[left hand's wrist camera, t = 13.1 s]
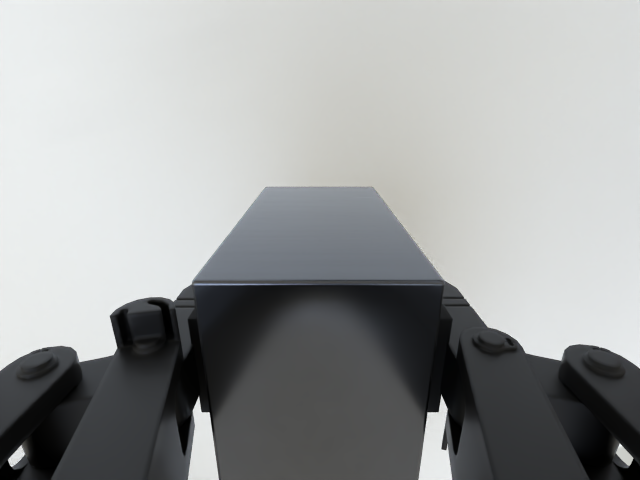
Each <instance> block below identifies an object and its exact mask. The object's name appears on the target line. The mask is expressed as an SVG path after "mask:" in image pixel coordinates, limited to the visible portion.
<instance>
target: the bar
mask: <svg viewBox="0 0 640 480" xmlns="http://www.w3.org/2000/svg"><path fill="white" fill-rule="evenodd" d="M444 286H445V282H444V280H443V279H442V277H441V276H440V275H439V273H438V272H437V271H436V269H435V268H434V267H433V265H432V264H431V263H430V261H429V260H428V259H427V257H426V256H425V255H424V254H423V252H422V251H421V250H420V248H419V247H418V246H417V244H416V243H415V242H414V240H413V239H412V238H411V236H410V235H409V234H408V232H407V231H406V230H405V229H404V227H403V226H402V225H401V223H400V222H399V221H398V219H397V218H396V217H395V215H394V214H393V213H392V211H391V210H390V209H389V207H388V206H387V205H386V204H385V202H384V201H383V200H382V198H381V197H380V196H379V194H378V193H377V192H376V190H375V189H374V188H373V187H265V188H264V190H263V191H262V192H261V194H260V195H259V196H258V197H257V199H256V200H255V201H254V203H253V204H252V205H251V206H250V208H249V209H248V210H247V212H246V213H245V214H244V215H243V217H242V218H241V219H240V221H239V222H238V223H237V224H236V226H235V227H234V228H233V230H232V231H231V232H230V233H229V235H228V236H227V237H226V239H225V240H224V241H223V242H222V244H221V245H220V246H219V247H218V249H217V250H216V251H215V253H214V254H213V255H212V256H211V258H210V259H209V260H208V262H207V263H206V264H205V265H204V267H203V268H202V269H201V271H200V272H199V273H198V274H197V276H196V277H195V278H194V280H193V282H192V288H193V295H194V302H195V310H196V317H197V324H198V331H199V338H200V345H201V353H202V360H203V367H204V374H205V381H206V389H207V396H208V403H209V410H210V417H211V425H212V432H213V439H214V446H215V453H216V461H217V468H218V475H219V480H418V478H419V471H420V463H421V456H422V449H423V441H424V434H425V427H426V419H427V412H428V404H429V397H430V390H431V382H432V375H433V368H434V360H435V353H436V345H437V338H438V331H439V323H440V316H441V309H442V301H443V294H444Z"/></svg>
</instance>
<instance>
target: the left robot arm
mask: <svg viewBox="0 0 640 480" xmlns="http://www.w3.org/2000/svg"><path fill="white" fill-rule="evenodd" d="M444 282H445V286H444V294H443V301H442V309H441V316H440V323H439V331H438V338H437V345H436V353H435V360H434V368H433V375H432V382H431V390H430V397H429V404H428V412H439V406H440V399H441V394H442V397H443V399H444V401H445V404H446V406H447V408H448V411H447V417H446V423H445V429H444V435H443V441H442V449H443V450H446V449H447V443H448V450H449V457H450V465H451V472H452V480H640V369H639V368H638V367H637V366H636V365H634V364H633V363H631V362H630V361H628V360H627V359H625V358H623V357H622V356H620V355H618V354H615V353H613V352H611V351H609V350H607V349H604V348H599V347H597V346H590V345H580V344H579V345H572V346H569V347H568V348H567V349H565V350H564V354H563V357H562V361H559V360H554V359H549V358H544V357H539V356H534V355H530V354H526V353H525V351H524V350H523V348H522V346H521V345H520V344H519V343H518V341H517V340H515V339H514V338H512V337H511V336H509V335H508V334H506V333H503V332H501V331H498V330H496V329H491V328H488V327H487V326H486V325H485V323H484V322H483V321H482V320H481V318H480V317H479V316H478V315H477V313H476V312H475V311H474V309H473V308H472V307H471V306H470V304H469V303H468V302H467V301H466V299H464V297H463V296H462V294H461V293H460V292H459V290H458V289H457V288H455V287H454V286H452V285H451V284H449V283H447V282H446V281H444ZM110 319H111V323H112V327H113V331H114V335H115V339H116V343H117V350H116V352H115V354H114V355H113V356H109V357H104V358H99V359H94V360H89V361H84V362H79V360H78V356H77V353H76V351H75V350H74V349H72V348H71V347H65V346H57V347H47V348H42V349H41V350H40V349H39V350H36V351H33V352H31V353H29V354H27V355H25V356H23V357H20V358H19V359H17V360H15V361H14V362H12V363H11V364H9V365H8V366H6V367H5V368H4V369H2V370H1V371H0V480H188V473H189V466H190V458H191V450H192V443H193V435H194V428H195V424H194V417H193V408H194V406H195V404H196V401H197V399H198V397H199V398H200V404H201V411H202V412H210V410H209V403H208V396H207V389H206V381H205V374H204V367H203V360H202V353H201V345H200V338H199V331H198V324H197V317H196V310H195V302H194V295H193V288H192V285H190V286H188V287H187V288H185V289H184V290H183V291H182V292H181V293H180V295H179V296H178V297H177V300H175V301H174V302H173V301H171V300H170V299H166V298H162V297H151V298H145V299H139V300H136V301H133V302H130V303H127V304H125V305H123V306H122V307H120V308H118V309H116V310H115V311H114V312H113V313H112V314H111V315H110ZM619 444H621V445H622V446H623V447H624V448H625V449H626V450H627V451H628V452H629V453H630V454H631V456H632V457H633V461H632V463H631V465H630V466H628V465H626V464H625V463H624V462H623V461H622V460H621V459H620V458H619V457H618V455H617V454H616V451H617V449H618V446H619ZM21 445H22V448H23V450H24V453H25V456H24V457H23V458H22V459H21V460H20V461H19V462H18V463H17V464H16V465H14V466H13V467H11V466H10V465H9V462H8V459H9V458H10V457H11V455H12V454H13V453H14V452H15V451H16V450H17V449H18V448H19V447H20V446H21Z"/></svg>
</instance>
